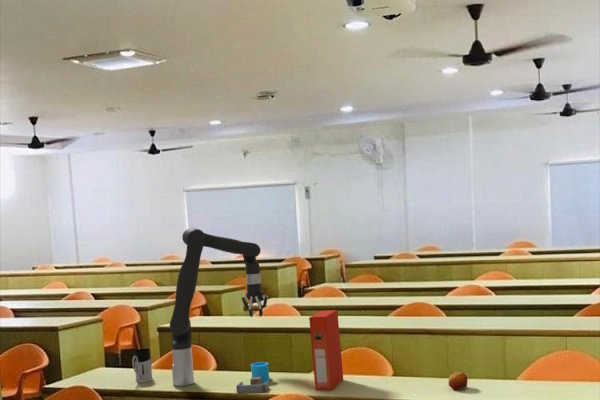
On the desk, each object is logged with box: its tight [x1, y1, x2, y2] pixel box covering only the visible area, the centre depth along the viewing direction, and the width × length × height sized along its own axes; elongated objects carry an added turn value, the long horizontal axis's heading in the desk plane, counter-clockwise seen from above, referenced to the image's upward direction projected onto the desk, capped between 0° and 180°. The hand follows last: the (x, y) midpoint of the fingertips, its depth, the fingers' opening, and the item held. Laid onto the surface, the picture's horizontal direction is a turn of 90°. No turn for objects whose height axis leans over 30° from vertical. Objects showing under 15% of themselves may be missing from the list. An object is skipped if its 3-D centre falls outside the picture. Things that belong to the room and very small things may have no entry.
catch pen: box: [235, 381, 270, 393], centre depth 292 cm, size 13×6×3 cm, turn 79°
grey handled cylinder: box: [131, 348, 154, 383], centre depth 323 cm, size 9×14×15 cm, turn 166°
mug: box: [250, 361, 270, 384], centre depth 308 cm, size 12×8×8 cm
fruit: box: [448, 371, 469, 391], centre depth 270 cm, size 8×8×8 cm
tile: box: [249, 376, 262, 385], centre depth 297 cm, size 4×4×4 cm
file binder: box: [308, 309, 344, 391], centre depth 291 cm, size 8×17×32 cm, turn 160°
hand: (256, 316), depth 328 cm, fingers open, 4 cm apart
